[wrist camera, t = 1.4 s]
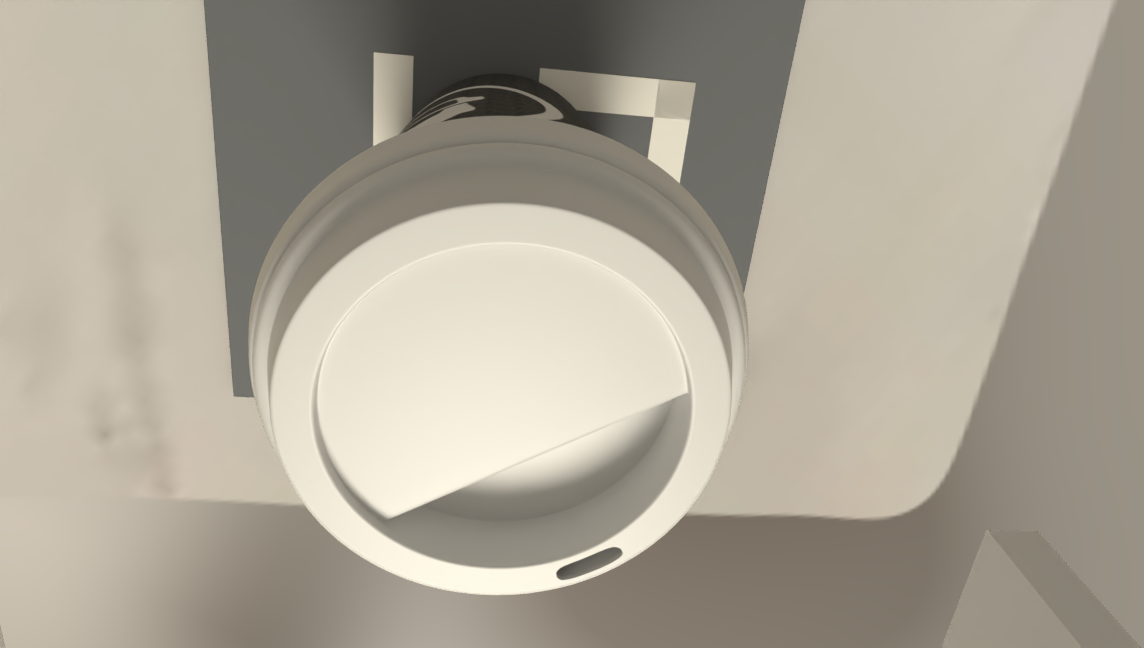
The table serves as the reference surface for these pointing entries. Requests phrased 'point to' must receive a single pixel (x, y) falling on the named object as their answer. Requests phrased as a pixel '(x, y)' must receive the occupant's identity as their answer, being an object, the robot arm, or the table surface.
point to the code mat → (477, 47)
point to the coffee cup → (498, 346)
